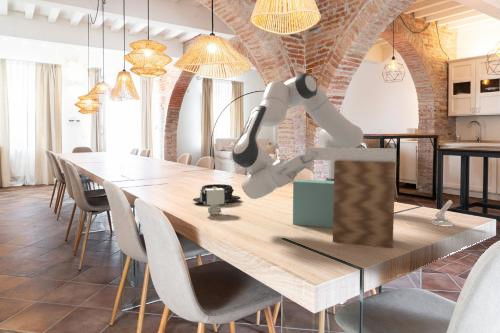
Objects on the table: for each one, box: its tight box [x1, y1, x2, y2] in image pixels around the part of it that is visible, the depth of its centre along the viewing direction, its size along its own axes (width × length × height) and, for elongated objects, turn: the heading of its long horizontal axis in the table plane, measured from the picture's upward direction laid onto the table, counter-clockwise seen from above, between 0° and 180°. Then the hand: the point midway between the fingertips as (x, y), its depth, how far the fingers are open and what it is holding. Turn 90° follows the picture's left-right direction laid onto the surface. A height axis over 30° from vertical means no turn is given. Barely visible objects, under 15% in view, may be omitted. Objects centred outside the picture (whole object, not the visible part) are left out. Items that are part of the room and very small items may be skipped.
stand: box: [332, 161, 397, 249], centre depth 120 cm, size 18×10×26 cm, turn 68°
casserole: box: [192, 183, 242, 204], centre depth 189 cm, size 25×19×8 cm
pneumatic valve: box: [199, 187, 229, 216], centre depth 161 cm, size 6×12×12 cm, turn 108°
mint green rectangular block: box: [292, 179, 334, 229], centre depth 143 cm, size 17×8×16 cm, turn 69°
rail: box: [305, 146, 397, 163], centre depth 120 cm, size 28×4×4 cm, turn 68°
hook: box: [430, 199, 454, 226], centre depth 141 cm, size 8×12×7 cm
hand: (318, 152), depth 124 cm, fingers closed on rail, 4 cm apart
